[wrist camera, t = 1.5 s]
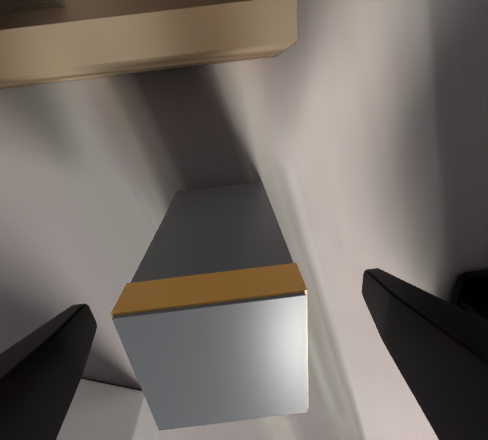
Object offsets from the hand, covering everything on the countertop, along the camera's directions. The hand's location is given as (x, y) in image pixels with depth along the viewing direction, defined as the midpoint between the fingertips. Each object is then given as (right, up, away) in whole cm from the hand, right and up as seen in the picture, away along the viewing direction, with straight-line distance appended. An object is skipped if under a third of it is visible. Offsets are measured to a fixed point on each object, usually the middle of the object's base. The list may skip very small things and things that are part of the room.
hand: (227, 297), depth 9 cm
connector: (0, +2, +5) cm, 5 cm away
